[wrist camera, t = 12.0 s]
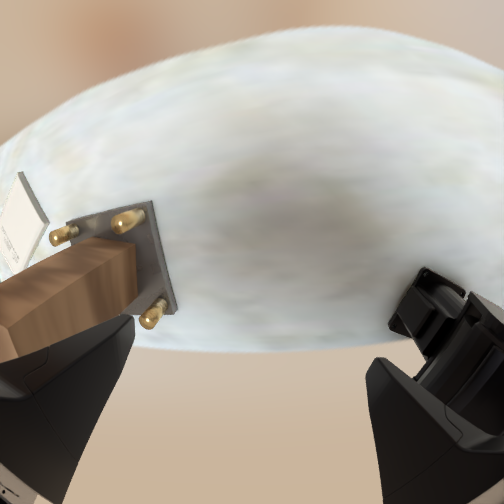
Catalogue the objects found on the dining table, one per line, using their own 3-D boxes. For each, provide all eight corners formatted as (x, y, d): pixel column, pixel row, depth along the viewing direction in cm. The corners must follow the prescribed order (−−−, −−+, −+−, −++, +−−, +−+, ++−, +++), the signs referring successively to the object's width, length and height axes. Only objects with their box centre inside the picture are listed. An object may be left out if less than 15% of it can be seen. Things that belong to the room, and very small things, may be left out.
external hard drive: (53, 221, 24) (24, 277, 27) (25, 170, 22) (0, 232, 26) (43, 224, 22) (16, 281, 26) (16, 172, 21) (-8, 235, 24)
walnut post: (135, 243, 21) (7, 328, 8) (138, 296, 23) (39, 398, 10) (91, 236, 22) (-30, 301, 9) (96, 285, 23) (-4, 365, 10)
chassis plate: (151, 200, 21) (126, 208, 17) (177, 309, 24) (160, 332, 20) (72, 220, 23) (45, 229, 19) (98, 309, 26) (77, 328, 22)
